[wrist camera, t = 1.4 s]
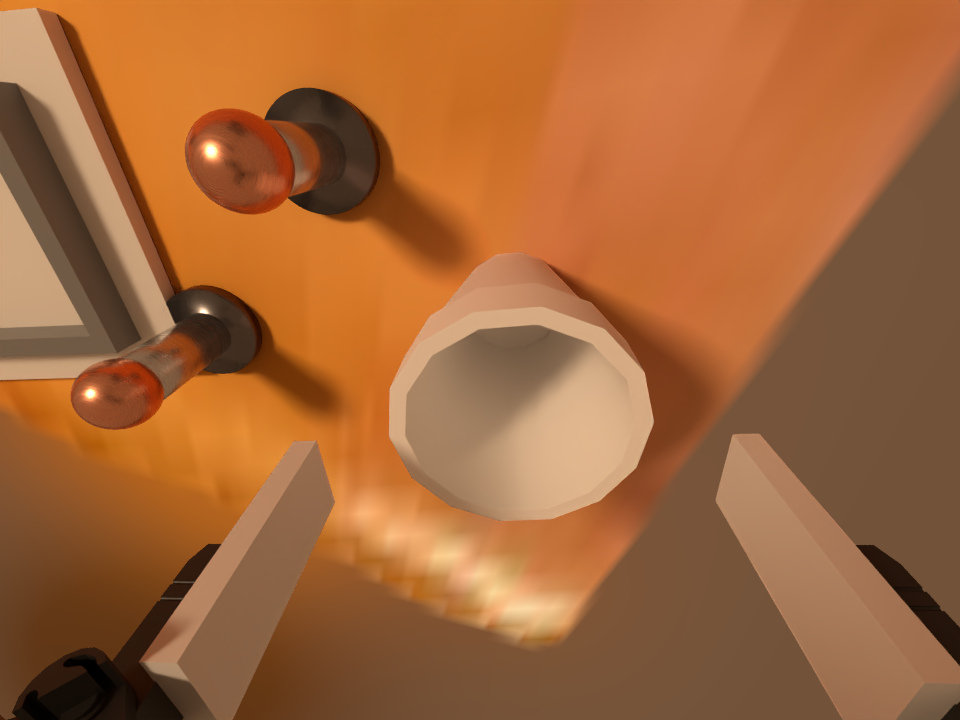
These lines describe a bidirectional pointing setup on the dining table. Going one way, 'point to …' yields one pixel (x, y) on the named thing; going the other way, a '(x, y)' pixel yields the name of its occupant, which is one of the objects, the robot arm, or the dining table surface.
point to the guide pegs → (247, 190)
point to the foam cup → (519, 397)
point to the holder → (65, 218)
